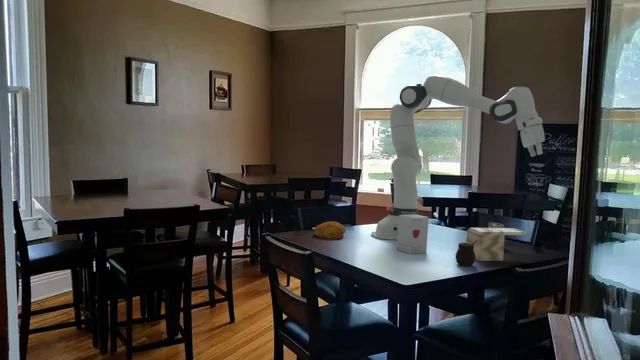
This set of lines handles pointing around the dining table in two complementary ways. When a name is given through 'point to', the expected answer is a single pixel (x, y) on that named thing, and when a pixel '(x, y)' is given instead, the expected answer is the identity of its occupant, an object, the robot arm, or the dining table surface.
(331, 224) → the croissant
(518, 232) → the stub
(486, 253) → the block
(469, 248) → the mate gourd
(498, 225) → the food container
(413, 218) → the supplement box
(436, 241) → the dining table surface
